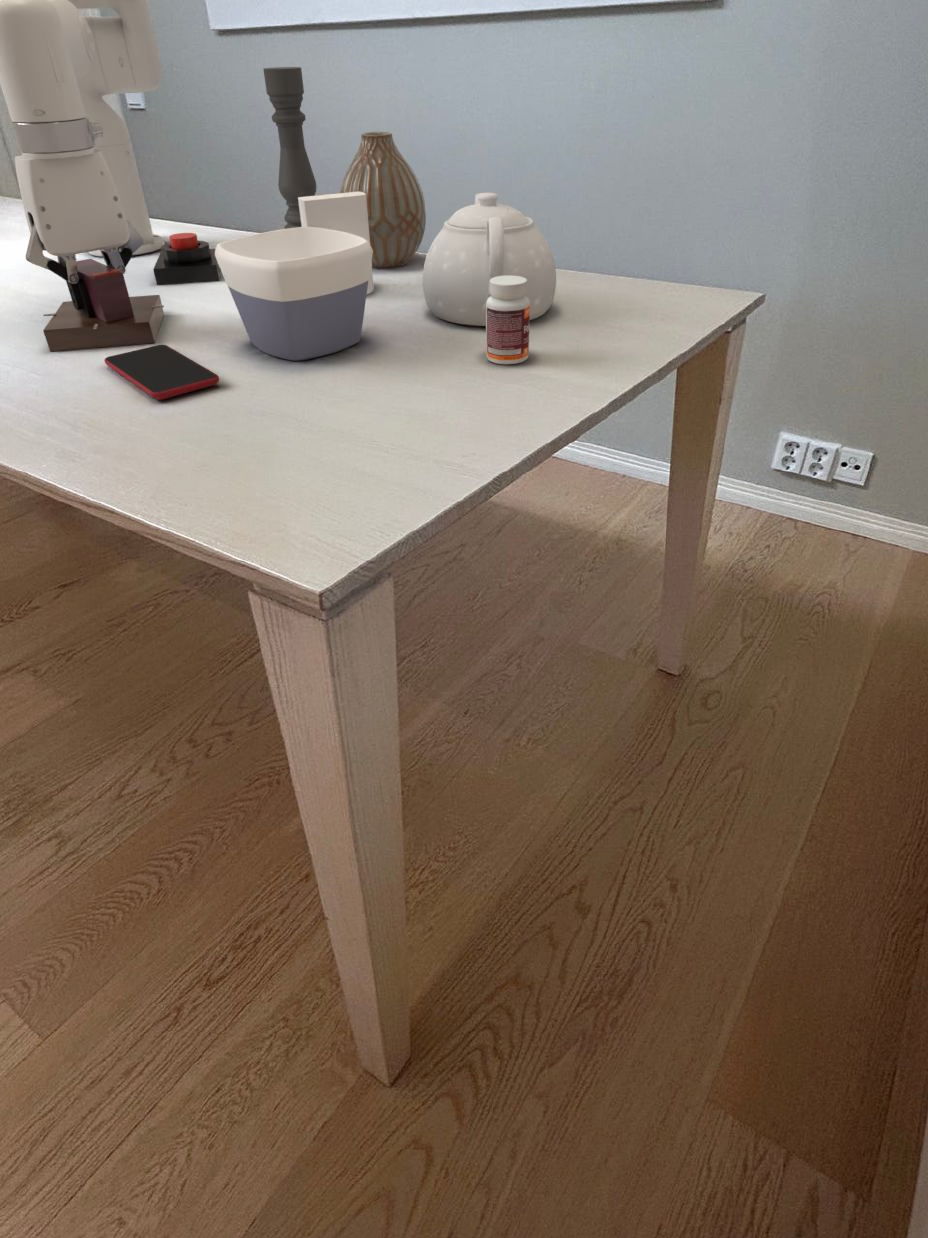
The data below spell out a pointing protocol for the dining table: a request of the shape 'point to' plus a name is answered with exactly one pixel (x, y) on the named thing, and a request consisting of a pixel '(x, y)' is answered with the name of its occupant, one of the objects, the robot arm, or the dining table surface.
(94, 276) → the bar
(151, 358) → the smartphone
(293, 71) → the candle holder
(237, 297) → the bowl
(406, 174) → the vase
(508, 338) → the pill bottle
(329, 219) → the base with upright slab
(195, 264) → the button block
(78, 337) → the panel
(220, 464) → the dining table surface
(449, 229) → the teapot
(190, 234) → the button
